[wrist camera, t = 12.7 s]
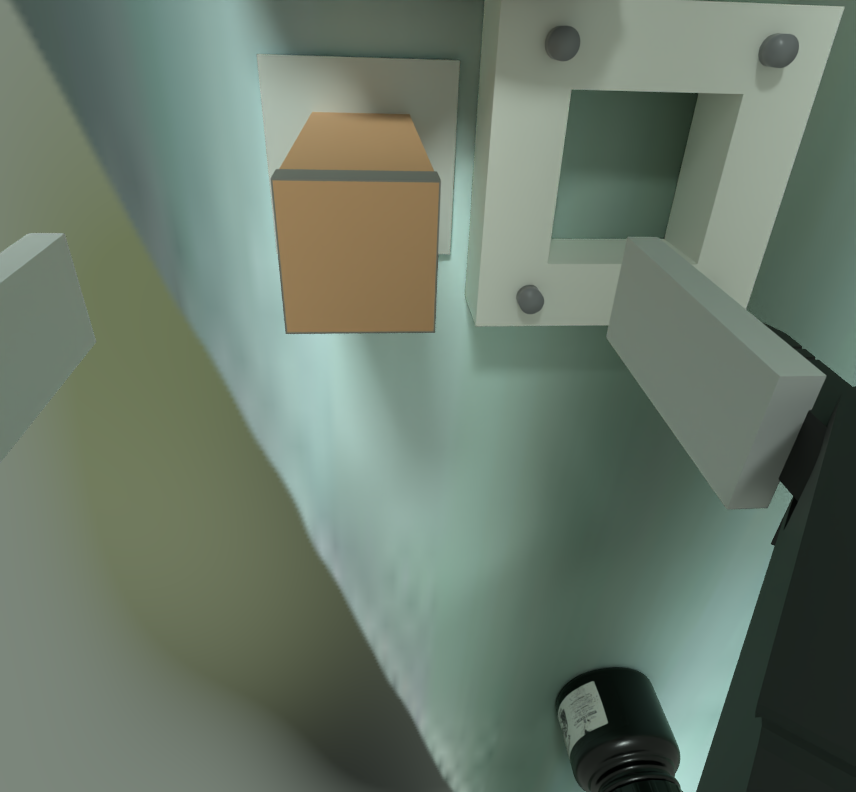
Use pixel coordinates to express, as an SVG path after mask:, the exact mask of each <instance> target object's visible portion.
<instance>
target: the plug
mask: <svg viewBox="0 0 856 792" xmlns="http://www.w3.org/2000/svg"><path fill="white" fill-rule="evenodd" d="M270 180H271V190H272V200H273V210H274V220H275V230H276V240H277V250H278V260H279V270H280V281H281V291H282V301H283V311H284V321H285V331H286V334H331V333H435V319H436V294H437V270H438V245H439V221H440V196H441V179H440V177H439V175H438V173H437V171H434V169H433V167H432V165H431V163H430V160H429V158H428V156H427V153H426V151H425V149H424V146H423V144H422V142H421V140H420V137H419V135H418V133H417V130H416V128H415V126H414V124H413V121H412V119H411V117H410V114H380V113H337V112H312V113H311V115H310V116H309V118H308V120H307V122H306V123H305V125H304V127H303V128H302V130H301V132H300V134H299V135H298V137H297V139H296V141H295V142H294V144H293V146H292V147H291V149H290V151H289V153H288V154H287V156H286V158H285V160H284V161H283V163H282V165H281V167H280V168H279V169H276V170H275V172H274V173H273V175H272V177H271V178H270Z"/></svg>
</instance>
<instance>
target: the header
mask: <svg viewBox="0 0 856 792" xmlns="http://www.w3.org/2000/svg"><path fill="white" fill-rule="evenodd" d="M843 10H844V7H839V6H815V5H790V4H766V3H741V2H717V1H692V0H484V15H483V30H482V45H481V60H480V75H479V90H478V105H477V120H476V135H475V150H474V165H473V180H472V195H471V210H470V225H469V240H468V255H467V270H466V285H465V298H466V301H467V303H468V306H469V309H470V312H471V315H472V318H473V320H474V323H475V326H589V325H609V321H610V317H611V312H612V307H613V302H614V298H615V293H616V288H617V284H618V279H619V274H620V269H621V265H622V260H623V255H624V251H625V246H626V241H627V239H551V236H552V229H553V221H554V214H555V207H556V200H557V192H558V185H559V178H560V171H561V163H562V156H563V149H564V141H565V134H566V127H567V120H568V112H569V105H570V98H571V91H572V90H608V91H645V92H682V93H698V98H697V102H696V106H695V110H694V115H693V119H692V123H691V127H690V131H689V136H688V140H687V144H686V148H685V153H684V157H683V161H682V165H681V170H680V174H679V178H678V182H677V187H676V191H675V195H674V199H673V204H672V208H671V212H670V216H669V221H668V225H667V229H666V233H665V238H664V239H661V240H662V241H663V242H664V243H666V244H667V245H668V246H669V247H671V248H672V249H673V250H674V251H675V252H677V253H678V254H679V255H680V256H682V257H683V258H684V259H685V260H686V261H688V262H689V263H690V264H691V265H692V266H694V267H695V268H696V269H697V270H699V271H700V272H701V273H702V274H703V275H705V276H706V277H707V278H708V279H710V280H711V281H712V282H713V283H714V284H716V285H717V286H718V287H719V288H720V289H722V290H723V291H724V292H725V293H727V294H728V295H729V296H730V297H731V298H733V299H734V300H735V301H736V302H737V303H739V304H740V305H741V306H742V307H744V308H745V309H746V308H747V305H748V302H749V299H750V296H751V293H752V289H753V286H754V283H755V280H756V277H757V274H758V271H759V268H760V265H761V262H762V259H763V256H764V253H765V250H766V247H767V243H768V240H769V237H770V234H771V231H772V228H773V225H774V222H775V219H776V216H777V213H778V210H779V207H780V204H781V200H782V197H783V194H784V191H785V188H786V185H787V182H788V179H789V176H790V173H791V170H792V167H793V164H794V161H795V157H796V154H797V151H798V148H799V145H800V142H801V139H802V136H803V133H804V130H805V127H806V124H807V121H808V118H809V114H810V111H811V108H812V105H813V102H814V99H815V96H816V93H817V90H818V87H819V84H820V81H821V78H822V75H823V71H824V68H825V65H826V62H827V59H828V56H829V53H830V50H831V47H832V44H833V41H834V38H835V35H836V32H837V29H838V25H839V22H840V19H841V16H842V13H843Z"/></svg>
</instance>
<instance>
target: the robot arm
mask: <svg viewBox="0 0 856 792" xmlns="http://www.w3.org/2000/svg"><path fill="white" fill-rule="evenodd" d="M606 338H607V340H608V341H609V342H610V344H611V345H612V347H613V348H614V349H615V351H616V352H617V354H618V355H619V357H620V358H621V359H622V361H623V362H624V364H625V365H626V367H627V368H628V369H629V371H630V372H631V374H632V375H633V376H634V378H635V379H636V381H637V382H638V384H639V385H640V386H641V388H642V389H643V391H644V392H645V394H646V395H647V396H648V398H649V399H650V401H651V402H652V404H653V405H654V406H655V408H656V409H657V411H658V412H659V413H660V415H661V416H662V418H663V419H664V421H665V422H666V423H667V425H668V426H669V428H670V429H671V431H672V432H673V433H674V435H675V436H676V438H677V439H678V440H679V442H680V443H681V445H682V446H683V448H684V449H685V450H686V452H687V453H688V455H689V456H690V458H691V459H692V460H693V462H694V463H695V465H696V466H697V468H698V469H699V470H700V472H701V473H702V475H703V476H704V477H705V479H706V480H707V482H708V483H709V485H710V486H711V487H712V489H713V490H714V492H715V493H716V495H717V496H718V497H719V499H720V500H721V502H722V503H723V504H724V506H725V507H726V509H752V508H768V506H769V504H770V502H771V500H772V497H773V495H774V493H775V491H776V488H777V486H778V484H779V482H780V481H781V482H782V483H783V485H784V486H785V487H786V488H787V489H788V490H789V492H790V493H791V494H792V495H793V498H792V500H791V502H790V504H789V506H788V508H787V510H786V512H785V515H784V517H783V519H782V521H781V523H780V525H779V527H778V530H777V532H776V534H775V536H774V538H773V540H772V542H771V544H772V545H774V546H775V547H774V550H773V553H772V556H771V559H770V562H769V566H768V569H767V572H766V575H765V578H764V581H763V584H762V587H761V591H760V594H759V597H758V600H757V603H756V606H755V609H754V612H753V616H752V619H751V622H750V625H749V628H748V631H747V634H746V638H745V641H744V644H743V647H742V650H741V653H740V656H739V659H738V663H737V666H736V669H735V672H734V675H733V678H732V681H731V684H730V688H729V691H728V694H727V697H726V700H725V703H724V706H723V709H722V713H721V716H720V719H719V722H718V725H717V728H716V731H715V734H714V738H713V741H712V744H711V747H710V750H709V753H708V756H707V760H706V763H705V766H704V769H703V772H702V775H701V778H700V781H699V785H698V788H697V791H696V792H856V387H852V386H851V385H850V384H848V383H847V382H846V381H845V380H843V379H842V378H841V377H840V376H838V375H837V374H836V373H835V372H833V371H832V370H831V369H830V368H828V367H827V366H826V365H825V364H823V363H822V362H821V361H820V360H815V356H813V355H812V354H811V353H810V352H808V351H807V350H806V349H802V346H801V345H800V344H798V343H797V342H796V341H795V340H793V339H792V338H791V337H790V336H788V335H787V334H786V333H784V332H782V331H780V330H777V329H775V328H773V327H771V326H769V325H767V324H765V323H763V322H761V321H759V320H758V319H757V318H756V317H755V316H753V315H752V314H751V313H750V312H748V311H747V310H746V309H745V308H744V307H742V306H741V305H740V304H739V303H737V302H736V301H735V300H734V299H733V298H731V297H730V296H729V295H728V294H727V293H725V292H724V291H723V290H722V289H720V288H719V287H718V286H717V285H716V284H714V283H713V282H712V281H711V280H710V279H708V278H707V277H706V276H705V275H703V274H702V273H701V272H700V271H699V270H697V269H696V268H695V267H694V266H692V265H691V264H690V263H689V262H688V261H686V260H685V259H684V258H683V257H682V256H680V255H679V254H678V253H677V252H675V251H674V250H673V249H672V248H671V247H669V246H668V245H667V244H666V243H664V242H663V241H662V240H661V239H660V238H658V237H627V241H626V246H625V251H624V255H623V260H622V265H621V269H620V274H619V279H618V284H617V288H616V293H615V298H614V302H613V307H612V312H611V317H610V321H609V326H608V331H607V335H606ZM95 343H96V340H95V336H94V333H93V329H92V326H91V322H90V319H89V316H88V312H87V309H86V305H85V302H84V298H83V295H82V291H81V288H80V285H79V281H78V278H77V274H76V271H75V267H74V264H73V260H72V257H71V254H70V250H69V247H68V243H67V240H66V236H65V234H64V233H29V234H27V235H25V236H24V237H23V238H21V239H20V240H18V241H17V242H15V243H14V244H12V245H11V246H10V247H8V248H7V249H5V250H4V251H2V252H1V253H0V462H1V461H2V460H3V459H4V458H5V456H6V455H7V454H8V452H9V451H10V450H11V449H12V447H13V446H14V445H15V444H16V442H17V441H18V440H19V438H20V437H21V436H22V435H23V434H24V432H25V431H26V430H27V429H28V427H29V426H30V425H31V424H32V422H33V421H34V420H35V418H36V417H37V416H38V415H39V413H40V412H41V411H42V410H43V408H44V407H45V406H46V405H47V403H48V402H49V401H50V400H51V398H52V397H53V396H54V394H55V393H56V392H57V391H58V389H59V388H60V387H61V386H62V384H63V383H64V382H65V380H66V379H67V378H68V377H69V376H70V374H71V373H72V371H73V370H74V369H75V368H76V366H77V365H78V364H79V363H80V362H81V360H82V359H83V358H84V357H85V355H86V354H87V353H88V352H89V350H90V349H91V348H92V346H93V345H94V344H95Z"/></svg>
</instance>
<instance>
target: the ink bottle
mask: <svg viewBox="0 0 856 792" xmlns="http://www.w3.org/2000/svg"><path fill="white" fill-rule="evenodd" d="M556 711H557V715H558V719H559V723H560V726H561V730H562V734H563V737H564V741H565V745H566V748H567V752H568V756H569V759H570V763H571V766H572V770H573V774H574V777H575V779H576V781H577V783H578V784H579V786H580V787H581V788H582V789H583V790H584V791H586V792H683V791H682V790H681V788H680V784H679V782H678V781H677V779H676V778H675V773H676V771H677V769H678V767H679V764H680V751H679V747H678V745H677V742H676V740H675V737H674V735H673V733H672V730H671V728H670V726H669V723H668V721H667V719H666V716H665V714H664V712H663V709H662V707H661V705H660V702H659V700H658V698H657V695H656V693H655V691H654V688H653V686H652V684H651V682H650V680H649V679H648V678H647V677H646V676H645V675H644V674H643V673H641V672H639V671H636V670H633V669H628V668H606V669H600V670H595V671H592V672H588V673H585V674H583V675H581V676H578V677H577V678H575V679H573V680H572V681H570V682H569V683H568V684H567V685H566V686H565V687H564V688H563V690H562V691H561V692H560V694H559V696H558V699H557V703H556Z"/></svg>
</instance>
